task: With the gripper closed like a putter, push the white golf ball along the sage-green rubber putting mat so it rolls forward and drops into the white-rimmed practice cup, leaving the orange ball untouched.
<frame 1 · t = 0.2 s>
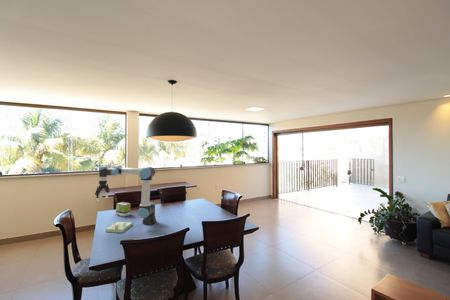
hand: (102, 199, 231), 28 cm above the table, fingers open, 13 cm apart
tea box: (123, 214, 269), on the table
orange ball: (116, 227, 213), point 4 cm above the table, touching putting mat
white ball: (124, 224, 222), point 4 cm above the table, touching putting mat
putting mat: (119, 228, 222), on the table
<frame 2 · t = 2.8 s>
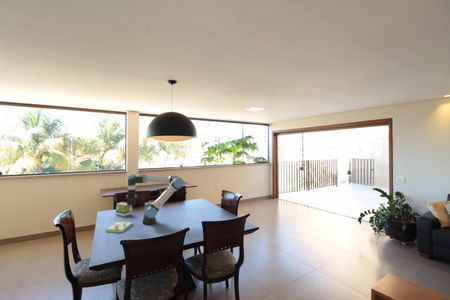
hand: (131, 211, 222), 18 cm above the table, fingers closed
nothing on the table moved.
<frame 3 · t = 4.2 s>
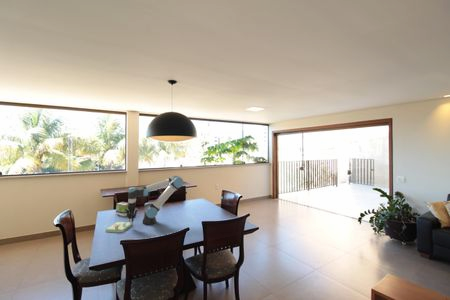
hand: (131, 224, 222), 4 cm above the table, fingers closed
nothing on the table moved.
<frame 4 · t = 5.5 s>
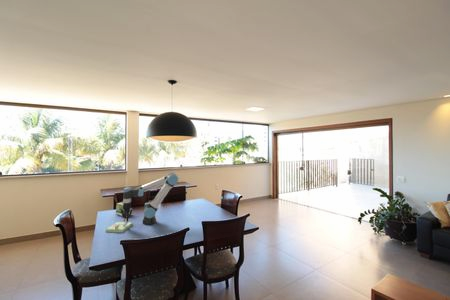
hand: (126, 224, 222), 4 cm above the table, fingers closed
white ball: (124, 224, 222), point 5 cm above the table, touching gripper
everything else where it was.
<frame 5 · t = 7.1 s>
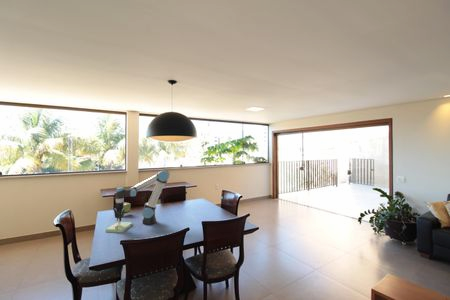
hand: (119, 224, 222), 4 cm above the table, fingers closed
white ball: (116, 226, 222), point 2 cm above the table, tilted 41°
everything else where it was.
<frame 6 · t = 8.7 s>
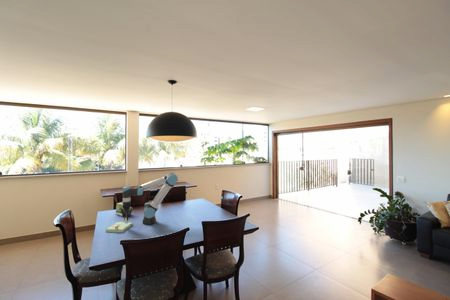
hand: (126, 223, 222), 5 cm above the table, fingers closed
white ball: (116, 226, 222), point 2 cm above the table, tilted 53°
everything else where it was.
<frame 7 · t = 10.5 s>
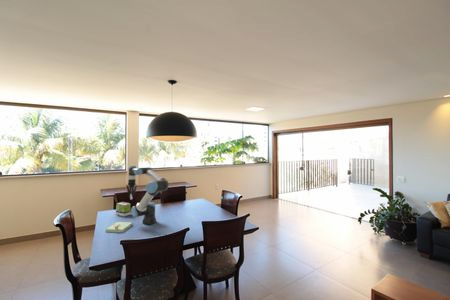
hand: (131, 199, 242), 26 cm above the table, fingers closed
white ball: (116, 226, 222), point 2 cm above the table, tilted 66°
everything else where it was.
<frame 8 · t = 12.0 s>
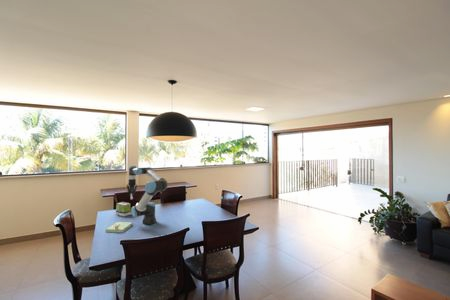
hand: (131, 199, 243), 26 cm above the table, fingers closed
white ball: (116, 226, 222), point 2 cm above the table, tilted 76°
everything else where it was.
at the end: white ball 0.4 cm from the target spot in the putting mat, point 1.7 cm above the putting mat's base; orange ball moved 0.1 cm from its start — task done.
